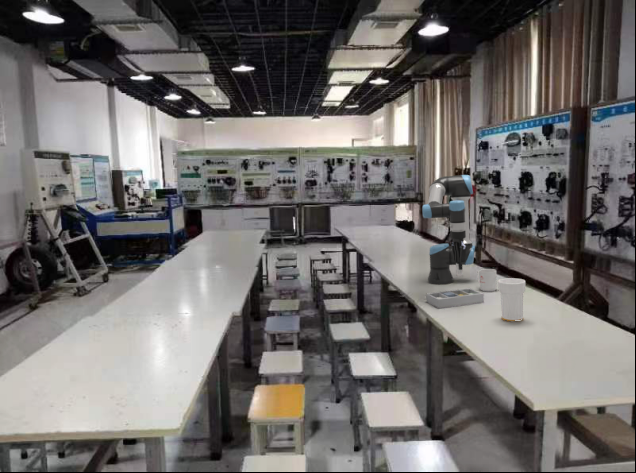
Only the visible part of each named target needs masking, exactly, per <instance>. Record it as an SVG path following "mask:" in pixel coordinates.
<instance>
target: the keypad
mask: <svg viewBox="0 0 636 473" xmlns="http://www.w3.org/2000/svg"><path fill="white" fill-rule="evenodd" d="M448 292H452V293H454V294H455V297H448V296H446V295H444V294H443V293H448ZM469 293H473V294H469ZM460 294H462V295H463V296H460ZM484 296H485V293H483V292H481V291H477V290H475V289H473V288H470V287H467V288H458V289H452V290H450V289H449V290H444V291H443V290H442V291H435V292H428V293H426V294H425V297H426V298H425V299H426V303H427V304H429V305H431V306H432V307H435V308H437V309H445V308H452V307H458V306H460V307H461V306H469V305H475V304H482V303H483V304H484V303H485V298H484ZM437 297H441V298H440V299H438V298H437Z"/></svg>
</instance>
